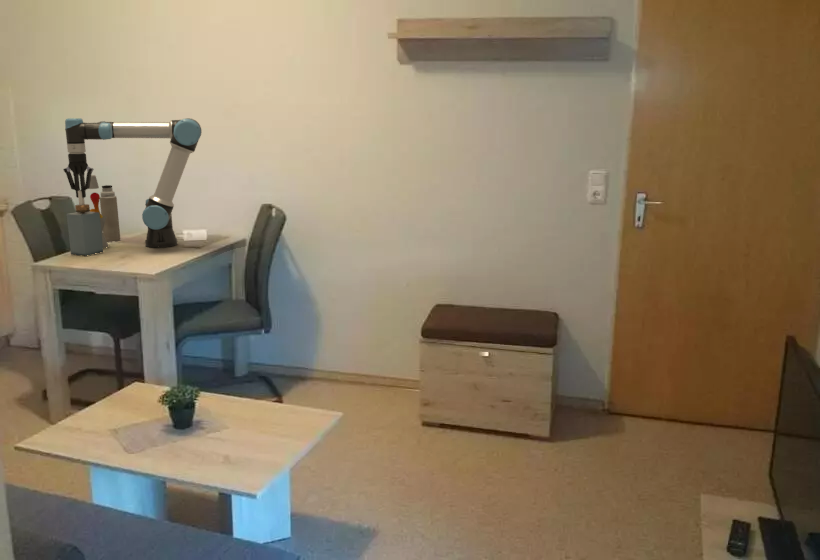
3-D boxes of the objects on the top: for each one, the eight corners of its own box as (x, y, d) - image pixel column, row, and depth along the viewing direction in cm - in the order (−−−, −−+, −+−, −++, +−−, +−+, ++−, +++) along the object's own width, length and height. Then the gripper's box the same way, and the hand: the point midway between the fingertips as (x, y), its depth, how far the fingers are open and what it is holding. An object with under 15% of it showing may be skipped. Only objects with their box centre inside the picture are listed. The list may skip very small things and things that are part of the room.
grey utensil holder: (103, 252, 363) (99, 212, 358) (85, 256, 354) (81, 215, 350) (88, 250, 367) (84, 211, 363) (70, 254, 359) (66, 213, 354)
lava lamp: (113, 246, 378) (106, 174, 370) (102, 249, 369) (95, 176, 361) (96, 245, 380) (88, 174, 372) (85, 249, 371) (77, 176, 363)
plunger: (99, 250, 362) (94, 204, 357) (85, 253, 355) (81, 206, 350) (88, 248, 365) (83, 203, 360) (74, 251, 359) (69, 205, 354)
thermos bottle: (108, 238, 397) (103, 184, 391) (123, 239, 396) (118, 184, 390) (100, 241, 389) (95, 186, 383) (116, 242, 389) (110, 186, 382)
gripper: (58, 153, 346) (64, 205, 351) (88, 153, 346) (93, 205, 352) (65, 152, 353) (70, 203, 359) (94, 152, 354) (99, 203, 359)
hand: (81, 204), depth 355 cm, fingers closed
